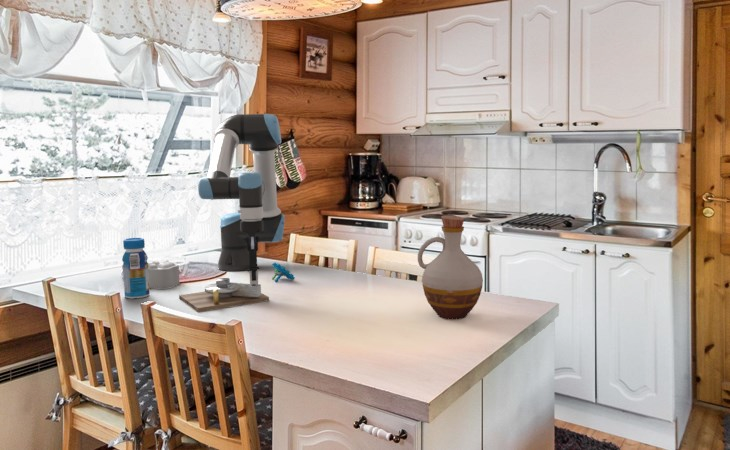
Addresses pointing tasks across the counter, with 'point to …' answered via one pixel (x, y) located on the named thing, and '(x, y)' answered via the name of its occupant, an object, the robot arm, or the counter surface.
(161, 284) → the lumpy-topped squat cylinder
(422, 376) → the counter surface
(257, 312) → the counter surface
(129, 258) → the beverage bottle
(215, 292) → the dowel pin
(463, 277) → the jug
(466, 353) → the counter surface
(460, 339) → the counter surface
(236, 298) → the base board
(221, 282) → the grey bracket
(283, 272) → the blue t-shaped piece
